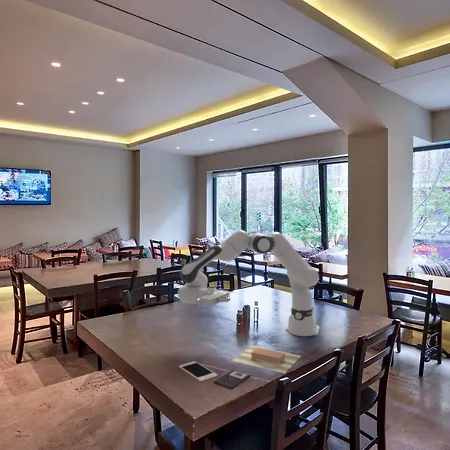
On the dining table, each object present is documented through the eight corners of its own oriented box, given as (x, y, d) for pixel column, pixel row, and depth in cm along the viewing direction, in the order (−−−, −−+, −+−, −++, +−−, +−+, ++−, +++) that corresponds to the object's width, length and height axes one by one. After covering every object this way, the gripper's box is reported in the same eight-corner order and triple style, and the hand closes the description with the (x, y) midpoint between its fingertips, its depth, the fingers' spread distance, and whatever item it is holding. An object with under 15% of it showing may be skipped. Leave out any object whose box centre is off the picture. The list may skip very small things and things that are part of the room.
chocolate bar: (213, 381, 147) (238, 366, 162) (213, 384, 147) (238, 368, 162) (232, 388, 142) (255, 371, 157) (232, 390, 142) (255, 374, 157)
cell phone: (200, 382, 148) (200, 380, 148) (178, 367, 162) (178, 365, 162) (218, 377, 153) (218, 374, 153) (195, 362, 168) (195, 360, 168)
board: (251, 346, 187) (251, 345, 187) (301, 357, 174) (301, 355, 174) (231, 362, 168) (231, 360, 168) (285, 374, 155) (285, 373, 155)
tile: (257, 347, 177) (285, 353, 170) (257, 353, 177) (284, 358, 170) (251, 352, 171) (279, 358, 164) (251, 358, 171) (279, 364, 164)
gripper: (194, 294, 179) (218, 298, 172) (215, 287, 197) (238, 289, 190) (194, 307, 179) (218, 311, 173) (215, 298, 197) (238, 301, 190)
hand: (228, 299), depth 182 cm, fingers closed
